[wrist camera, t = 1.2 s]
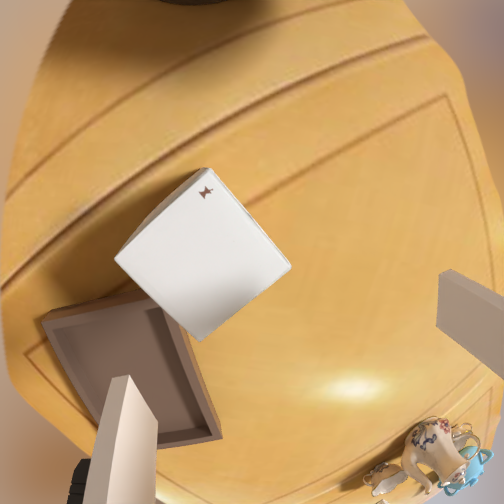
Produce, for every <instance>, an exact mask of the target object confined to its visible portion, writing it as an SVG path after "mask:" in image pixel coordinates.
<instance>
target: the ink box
mask: <svg viewBox="0 0 504 504" xmlns="http://www.w3.org/2000/svg"><path fill="white" fill-rule="evenodd" d="M376 504H389V503H388V502H387V501H385V500H381V501H380V502H378V503H376Z"/></svg>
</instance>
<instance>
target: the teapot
mask: <svg viewBox="0 0 504 504" xmlns="http://www.w3.org/2000/svg"><path fill="white" fill-rule="evenodd" d="M477 449H478V447H476V446H468V447H466V448H464V449H462V450H461V451H460V452H458V453H459V454H460V455H461V456H462V457H463V458H464V455H465V454H467V453H469V458H471V457H472V456H473V455H474V454H475V453H476V451H477ZM481 453H484V454H486V455H487V456H488V457H487V459H486V460H485V461H483V458H482V454H481ZM493 456H494V453H493V452H492V451H491V450H487V449H480V450H479V452H478V454H477V455H476V456H475V457H474V458H473V459H472V460H470V462H471V463H470V465H469V466H468V468H467V469H466V475H465V476H464V478H465V483H464V484H459V482H457V483H455V484H452V483H450V484H448V485H446V486H440V485H441V484H442V482H441V480H440V478H439V481H440V482H439V483H438V485H437V486H438V488H444V491H445V493H446V495H448V496H453V495H455V494H456V493H457V492H458V491H459V490H462V489H464V488H465V487H467V486H468V485H469V484H470V486H473V485H474V484H475V483H477V481H478V479H477V477H478V476H479V475H481V474H483V473H484V470H483V464H485V463H486V462H488V461H489V460H490V459H491V458H492V457H493ZM469 458H468V459H469ZM447 487H448V488H452V489H456V491H455V492H454V493H452V494H451V493H450V492H449V491H448V489H447Z"/></svg>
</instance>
